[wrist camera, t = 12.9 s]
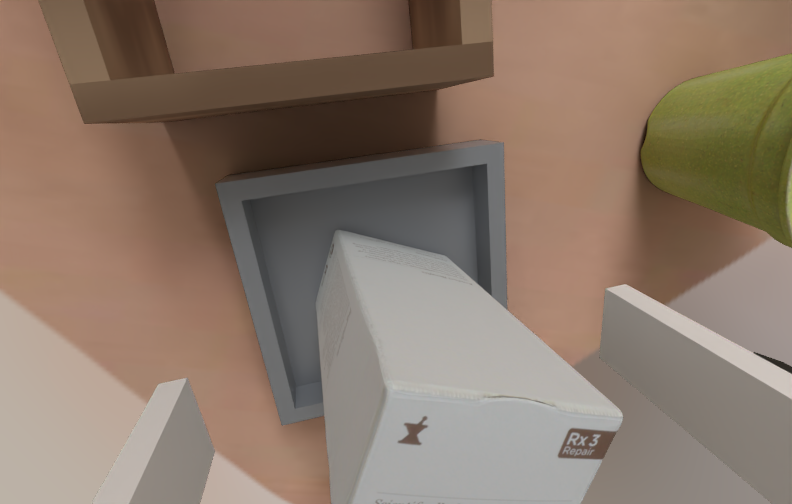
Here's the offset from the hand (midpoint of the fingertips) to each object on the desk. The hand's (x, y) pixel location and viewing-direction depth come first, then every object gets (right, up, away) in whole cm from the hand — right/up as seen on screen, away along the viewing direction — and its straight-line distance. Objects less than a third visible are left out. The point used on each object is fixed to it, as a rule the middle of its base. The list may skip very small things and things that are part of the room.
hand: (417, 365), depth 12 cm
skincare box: (-1, +2, +8) cm, 8 cm away
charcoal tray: (-2, +2, +8) cm, 9 cm away
